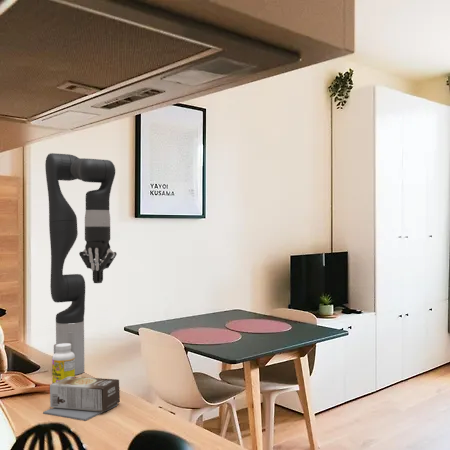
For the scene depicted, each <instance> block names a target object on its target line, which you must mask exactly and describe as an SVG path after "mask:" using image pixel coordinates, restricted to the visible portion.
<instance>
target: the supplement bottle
mask: <svg viewBox="0 0 450 450" xmlns="http://www.w3.org/2000/svg"><path fill="white" fill-rule="evenodd" d="M55 349H56V353H55V354H54V353H53V355H52V356H51V357H52V358H51V365H52V367H51V368H52V369H51V372H52V373H51V376H52V377H51V378H52V379H51V380H52V381H51V384H53V383H55V382H57V381H60V380H62V379H64V378H66V377H76V375H75V355H74V353H73V352H71V344H70V343H62V344H57V345H56V346H55Z"/></svg>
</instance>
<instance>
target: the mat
mask: <svg viewBox="0 0 450 450" xmlns="http://www.w3.org/2000/svg"><path fill="white" fill-rule="evenodd" d="M117 405H118V406H119V403H117V404H116V405H114V406H113V407H111V408H109V409H108V410H106V411H104V412H98V411H87V410H76V409H65V408H53V407H51V408H49V409H47V410H45V411H43V412H42V414H43V415H50V416H56V417H60V418H61V417H62V418H67V419H71V420H72V419H73V420H74V419H75V420H79V421H85V422H86V421H89V420H90V419H92V418H94V417H97V416H99V415H100V414H103V413H105V412H107V411H109V410H111V409H113V408H116V407H118V406H117ZM115 406H116V407H115Z"/></svg>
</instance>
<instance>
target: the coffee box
mask: <svg viewBox="0 0 450 450" xmlns="http://www.w3.org/2000/svg"><path fill="white" fill-rule="evenodd" d="M120 391H121V390H120V379H114V378H102V377H101V378H100V377H86V376H85V377H83V376H75V377H66V378H64V379H62V380H60V381H57V382H55V383H53V384H52V383H50V384H49V407H50V408H65V409H76V410H87V411H98V412H103V413H105V412H107V411H109V410H110V409H109V408H111V407H113V406H114V405H116V404H119V403H121V400H120V399H121V396H120V393H121V392H120ZM113 408H114V407H113ZM108 409H109V410H108ZM111 409H112V408H111ZM106 410H107V411H106ZM104 411H105V412H104Z"/></svg>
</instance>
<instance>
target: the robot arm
mask: <svg viewBox="0 0 450 450" xmlns="http://www.w3.org/2000/svg"><path fill="white" fill-rule="evenodd" d="M44 163H45V164H44V165H45V177H46V186H47V196H48V225H49V228H48V229H49V241H50V286H49V287H50V296H51V299H52V301H53V302H54V303H68V302H69V303H70V302H71V304H70V305H69V306H68V307H67V308H66V309H64V310H62V311H60V312H58V313H56V314H55V343H54V345H53V355H54V354H55V353H56V349H55V346H56V345H57V344H62V343H70V344H71V352H73V353H74V355H75V376H76V375H77V376H78V375H80V374H83V373H85V310H86V307H85V304H86V280H85V277H84V276H83V275H82V274H79V273H73V274H71V273H70V274H69V273H68V274H64V273H63V270H64V265H65V262H66V261H65V260H67V259H66V258H67V256H68V254H69V253H70V251H71V250H72V248H73V246H74V244H75V243H76V240H77V238H78V234H79V233H78V218H77V215H76V211H74V209H73V208H72V206H71V205H70V204H69V202H68V200H67V199H66V198H65V196H64V194H63V192H62V190H61V187H60V182H59V181H67V182H69V181H76V180H80V181H81V182H84V183H85V182H86V183H99V184H100V186H99V188H97V189H94V190H93V189H92V190H88V191H87V192H86V193H85V213H84V214H85V215H84V241H85V242H86V243H85V246H84V250H83V251H79V256H80V258H81V260H82V262H83V263H84V265H85V266H86V268H87V269H90V270H91V271H92V281H93V284H101V283H103V281H104V270H106V269H109V267H110V266H111V264H112V263H113V261H114V260H115V258H116V256H117V252H116V251H113V250H112V249H111V245H110V242H111V214H110V197H111V192H112V187H113V184H114V179H115V176H116V166H115V165H114V163H113V162H112V160H109V159H99V158H79V157H78V156H76V155H73V154H69V153H68V154H67V153H53V152H50V153H48V155H47V156H46V157H45V162H44Z"/></svg>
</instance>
